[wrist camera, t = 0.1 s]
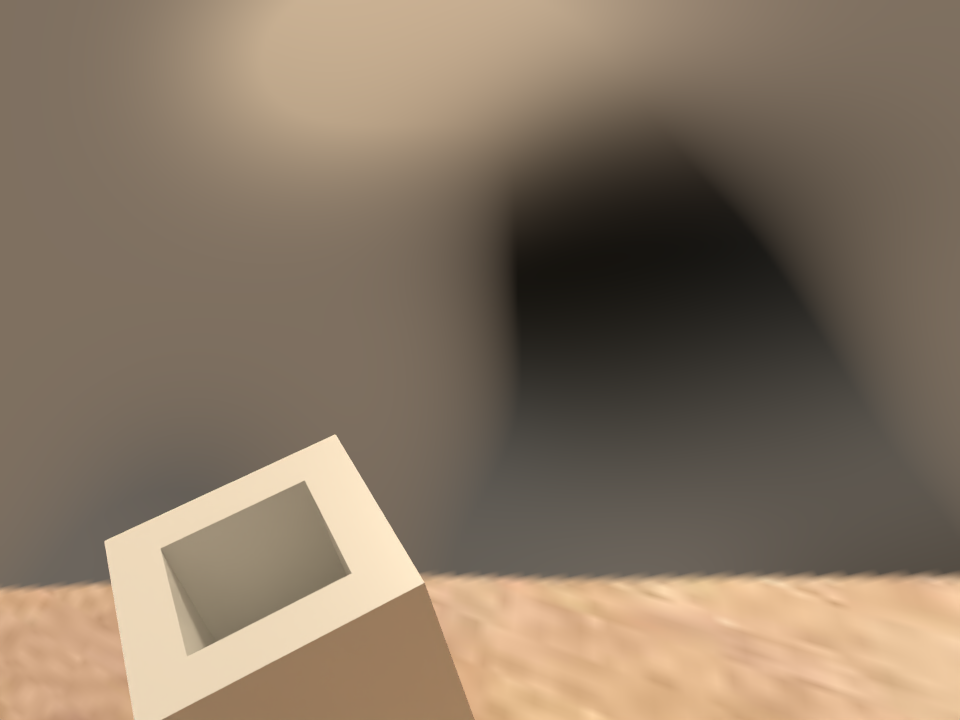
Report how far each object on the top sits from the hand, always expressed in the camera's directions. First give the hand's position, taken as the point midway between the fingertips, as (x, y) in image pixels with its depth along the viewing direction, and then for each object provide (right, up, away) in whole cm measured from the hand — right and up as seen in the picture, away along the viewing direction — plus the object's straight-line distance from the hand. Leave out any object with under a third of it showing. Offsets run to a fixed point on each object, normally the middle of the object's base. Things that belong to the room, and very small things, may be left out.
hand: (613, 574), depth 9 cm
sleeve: (-3, -11, +15) cm, 19 cm away
